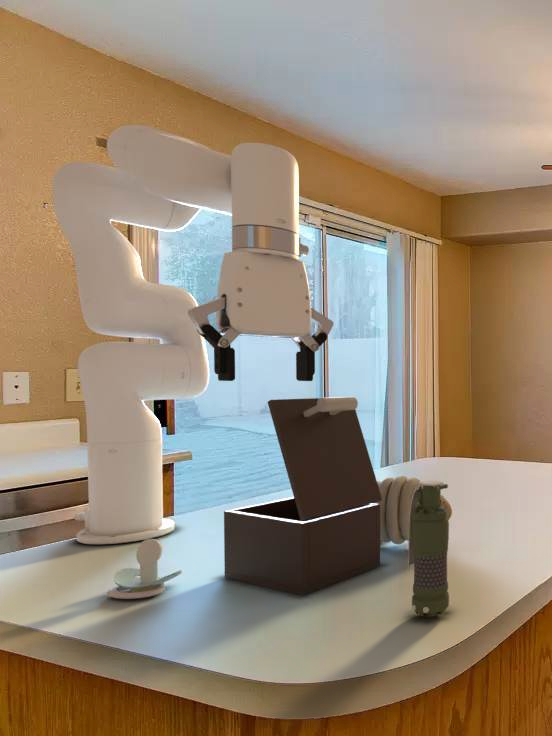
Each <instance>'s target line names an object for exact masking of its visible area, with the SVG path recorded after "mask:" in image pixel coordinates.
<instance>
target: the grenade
mask: <svg viewBox="0 0 552 736" xmlns="http://www.w3.org/2000/svg"><path fill="white" fill-rule="evenodd" d="M423 481H424V482H421V481H420V482H419V483H417V484H416V486H415V489H414V493H413V496H412V500H411V506H410V513H409V541H408V566H411V565H413V585H412V593H413V594H412V596H411V609H412V610H413V612H415V614H416V615H419V616H421V617H425V618H434V617H436V616H438V615H442V614H443V613H444V612H445V611H446V610H447V609H448V608H449V605H450V594H449V592H448V590H449V581H448V551H449V539H450V522H449V520H448V518H447V512H448V510H447V509H446V508H441V507H445V506H441V499H440V497H441V495H442V492H441V491H442V490H445V489H448V488H449V484H448V483H444V482H443V481H441V480H423Z"/></svg>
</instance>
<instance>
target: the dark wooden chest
mask: <svg viewBox="0 0 552 736" xmlns="http://www.w3.org/2000/svg"><path fill="white" fill-rule="evenodd" d="M223 540H224V541H223V546H224V547H223V548H224V549H223V550H224V552H223V553H224V557H223V558H224V560H223V561H224V578H226V579H230V580H235V581H239V582H244V583H247V584H251V585H256V586H259V587H265V588H270V589H273V590H278V591H283V592H287V593H291V594H296V595H300V596H305V595H308V594H311V593H313V592H316V591H319V590H321V589H324V588H326V587H329V586H332V585H334V584H336V583H338V582H339V583H340V582H342V581H345V580H347V579H349V578H352V577H355V576H357V575H361V574H362V573H367V572H368V571H371V570H373V569H376V568H378V567H381V543H380V504H376V503H371V504H367V505H363V506H359V507H355V508H351V509H347V510H343V511H339V512H335V513H331V514H327V515H323V516H318V517H314V518H310V519H306V520H302V521H301V520H300V517H299V513H298V509H297V506H296V502H295V499H294V496H292V497H288V498H282V499H277V500H273V501H268V502H263V503H258V504H253V505H248V506H244V507H243V506H242V507H238V508H233V509H227V510H223Z"/></svg>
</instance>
